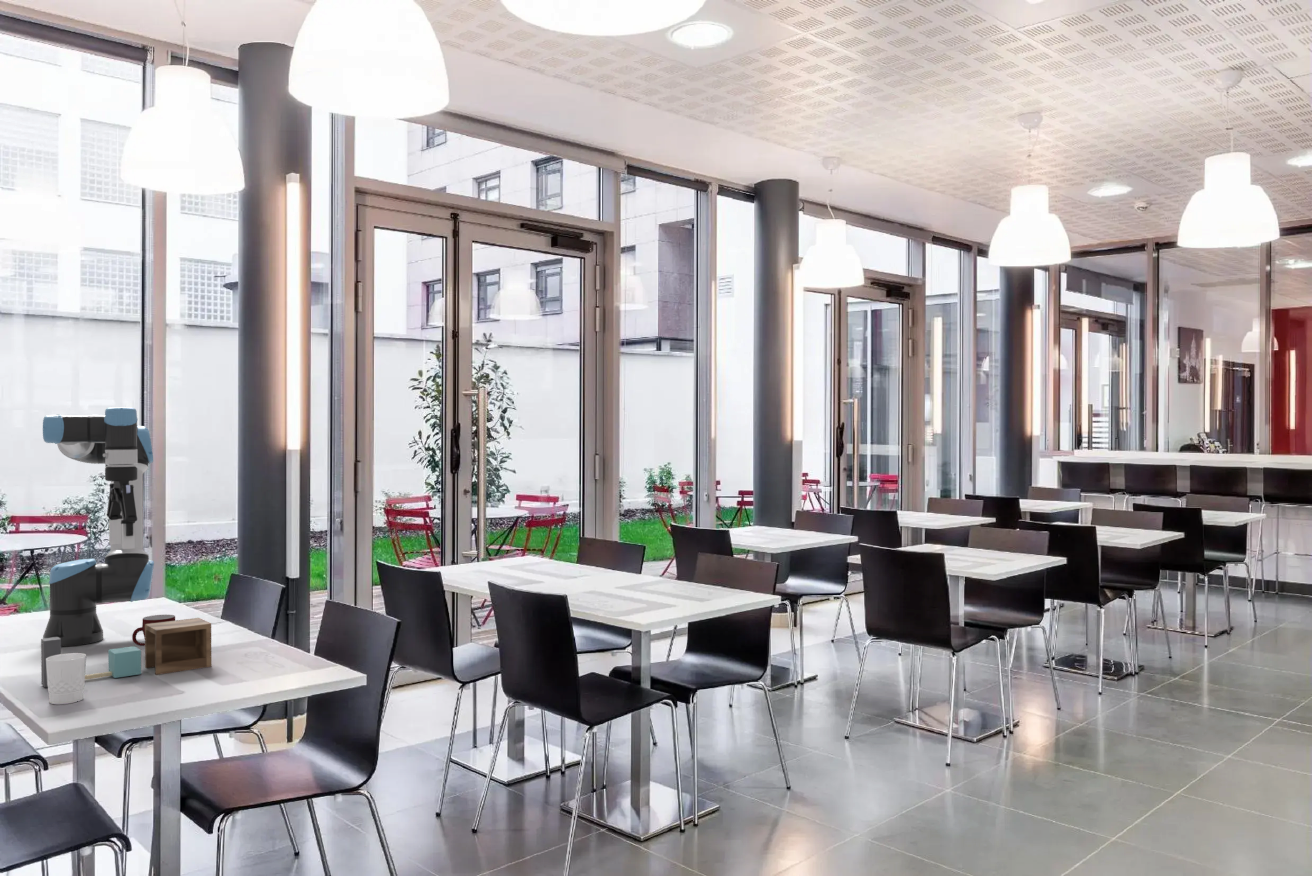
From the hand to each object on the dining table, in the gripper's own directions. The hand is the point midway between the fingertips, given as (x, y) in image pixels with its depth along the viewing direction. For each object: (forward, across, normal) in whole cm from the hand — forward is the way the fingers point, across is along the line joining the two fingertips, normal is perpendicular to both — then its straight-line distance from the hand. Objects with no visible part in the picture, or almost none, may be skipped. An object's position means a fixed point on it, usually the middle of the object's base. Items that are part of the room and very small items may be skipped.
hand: (121, 546), depth 263 cm
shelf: (+31, +15, +9) cm, 35 cm away
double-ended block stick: (+30, +15, -10) cm, 35 cm away
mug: (+31, -5, +9) cm, 33 cm away
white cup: (+31, +32, -19) cm, 48 cm away
